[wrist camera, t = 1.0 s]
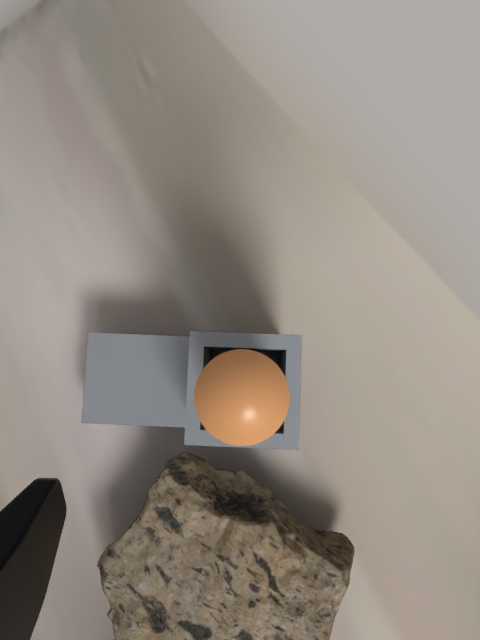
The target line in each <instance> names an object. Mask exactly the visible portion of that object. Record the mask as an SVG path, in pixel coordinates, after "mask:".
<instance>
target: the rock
mask: <svg viewBox="0 0 480 640" xmlns="http://www.w3.org/2000/svg"><path fill="white" fill-rule="evenodd" d="M155 481H157V482H156V483H154V484H153V485H152V486H151V487H150V489H149V491H148V496H147V500H146V503H145V505H144V507H143V509H142V511H141V513H140V515H139V516H138V517H137V518H136V520H135V521H134V522H133V523H132V524H131V526H130V527H129V528H128V529H127V530H126V532H125V533H124V534H123V535H122V536H121V537H120V538H119V539H118V540H116V541H115V542H114V543H112V544H111V545H109V546H108V547H107V548H106V549H105V551H104V552H103V554H102V555H101V557H100V559H99V562H98V564H97V566H98V567H99V569H100V575H101V582H102V589H103V591H104V593H105V595H106V597H107V598H108V600H109V603H110V607H111V608H110V610H109V612H108V614H107V616H108V617H109V618H110V620H111V621H112V622H113V629H114V634H115V640H329V638H330V634H331V630H332V626H333V622H334V619H335V616H336V613H337V611H338V608H339V606H340V603H341V601H342V598H343V596H344V594H345V592H346V590H347V588H348V585H349V580H350V571H351V567H352V562H353V556H354V547H353V545H352V543H351V541H350V540H349V539H348V537H346V536H345V535H344V534H343V533H338V532H332V531H320V530H314V529H312V528H311V527H309V526H306V525H304V524H301V523H300V522H299V521H298V520H297V518H296V517H295V516H294V514H293V513H292V512H291V511H290V510H289V509H288V508H287V507H286V506H285V505H284V504H283V503H282V502H281V501H279V500H278V499H277V498H276V497H275V496H274V494H273V493H272V492H271V490H270V489H269V488H267V487H266V486H264V485H263V484H261V483H259V482H257V481H256V480H255V479H254V478H253V477H252V476H250V475H249V474H247V473H246V472H244V471H243V470H240V471H238V472H236V473H234V472H230V471H226V470H222V471H217V470H215V469H214V468H213V467H212V466H210V465H209V464H208V463H207V462H206V461H205V460H204V459H202V458H199V457H197V456H195V455H193V454H190V453H187V452H183V453H181V454H179V455H178V456H177V457H176V458H174V459H171V460H169V461H168V463H167V464H166V466H165V468H164V470H163V471H162V473H161V475H160V476H159V477H157V478H156V480H155Z"/></svg>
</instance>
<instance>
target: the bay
mask: <svg viewBox="0 0 480 640" xmlns="http://www.w3.org/2000/svg"><path fill="white" fill-rule="evenodd" d="M301 348H302V335H282V334H257V333H231V332H206V331H190V336H166V335H140V334H115V333H90V332H88V340H87V354H86V368H85V382H84V396H83V410H82V423H94V424H116V425H139V426H161V427H184V428H185V435H184V445H197V446H219V447H241V448H263V449H285V450H299V418H300V383H301ZM237 349H247V350H253V351H257V352H259V353H262V354H264V355H265V356H267V357H269V358H270V359H271V360H273V361H274V362H275V363H276V364H277V365H278V366H279V368H280V369H281V370H282V372H283V374H284V375H285V378H286V380H287V383H288V386H289V392H290V403H289V409H288V413H287V415H286V418H285V420H284V422H283V423H282V425H281V426H280V428H279V429H278V430H277V431H276V432H275V433H274V434H273V435H272V436H271V437H269V438H268V439H266V440H264V441H262V442H260V443H257V444H254V445H249V446H235V445H230V444H227V443H224V442H222V441H220V440H218V439H216V438H215V437H214V436H212V435H211V434H210V433H209V432H208V431H207V430H206V429H205V428H204V426H203V425H202V423H201V422H200V420H199V418H198V415H197V413H196V409H195V403H194V392H195V386H196V382H197V380H198V377H199V375H200V373H201V372H202V370H203V369H204V367H205V366H206V365H207V364H208V363H209V362H210V361H211V360H212V359H214V358H215V357H217V356H218V355H220V354H222V353H224V352H227V351H231V350H237Z"/></svg>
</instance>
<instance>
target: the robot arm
mask: <svg viewBox="0 0 480 640" xmlns="http://www.w3.org/2000/svg"><path fill="white" fill-rule="evenodd" d="M65 517H66V502H65V498H64V494H63V490H62V486H61V483H60V481H59V480H58V479H56V478H38V479H36V480H34V481H33V482H32V483H31V484H30V485H28V486H27V487H26V488H25V489H24V490H23V491H22V492H21V493H20V494H19V495H18V496H17V497H15V498H14V499H13V500H12V501H11V502H10V503H9V504H8V505H7V506H6V507H5V508H4V509H2V510H1V511H0V640H30V638H31V635H32V632H33V630H34V627H35V624H36V621H37V619H38V616H39V613H40V610H41V607H42V604H43V601H44V598H45V595H46V591H47V588H48V584H49V580H50V576H51V572H52V568H53V564H54V560H55V557H56V553H57V549H58V545H59V541H60V537H61V533H62V529H63V525H64V521H65Z"/></svg>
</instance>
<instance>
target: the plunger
mask: <svg viewBox="0 0 480 640" xmlns="http://www.w3.org/2000/svg"><path fill="white" fill-rule="evenodd" d="M194 403H195V409H196V413H197V415H198V418H199V420H200V422H201V423H202V425H203V426H204V428H205V429H206V430H207V431H208V432H209V433H210V434H211V435H212V436H214V437H215V438H216V439H218V440H220V441H222V442H224V443H227V444H230V445H235V446H249V445H254V444H257V443H260V442H262V441H264V440H266V439H268V438H269V437H271V436H272V435H273V434H274V433H275V432H276V431H277V430H278V429H279V428H280V426H281V425H282V423H283V422H284V420H285V418H286V415H287V413H288V409H289V403H290V392H289V386H288V383H287V380H286V378H285V375H284V374H283V372H282V370H281V369H280V368H279V366H278V365H277V364H276V363H275V362H274V361H273V360H271V359H270V358H269V357H267V356H265V355H264V354H262V353H259V352H257V351H253V350H247V349H237V350H231V351H227V352H224V353H222V354H220V355H218V356H217V357H215V358H214V359H212V360H211V361H210V362H209V363H208V364H207V365H206V366H205V367H204V369H203V370H202V372H201V373H200V375H199V377H198V380H197V382H196V386H195V392H194Z"/></svg>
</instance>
